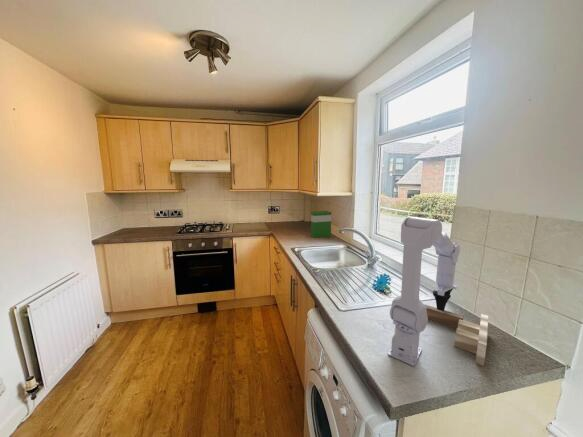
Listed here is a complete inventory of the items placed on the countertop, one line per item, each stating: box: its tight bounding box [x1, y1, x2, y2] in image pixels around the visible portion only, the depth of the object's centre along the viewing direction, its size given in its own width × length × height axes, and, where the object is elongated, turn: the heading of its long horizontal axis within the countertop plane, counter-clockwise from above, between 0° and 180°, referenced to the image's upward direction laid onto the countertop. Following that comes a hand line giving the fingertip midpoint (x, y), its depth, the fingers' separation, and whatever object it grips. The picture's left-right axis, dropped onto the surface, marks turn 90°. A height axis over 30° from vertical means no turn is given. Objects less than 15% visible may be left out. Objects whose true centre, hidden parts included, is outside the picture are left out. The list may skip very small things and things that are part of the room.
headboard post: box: [454, 313, 489, 367], centre depth 83 cm, size 20×8×7 cm, turn 141°
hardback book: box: [310, 210, 332, 239], centre depth 235 cm, size 18×7×24 cm, turn 108°
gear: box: [372, 272, 392, 293], centre depth 125 cm, size 11×6×10 cm
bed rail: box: [423, 303, 465, 330], centre depth 96 cm, size 3×14×5 cm, turn 51°
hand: (442, 305), depth 95 cm, fingers open, 7 cm apart
